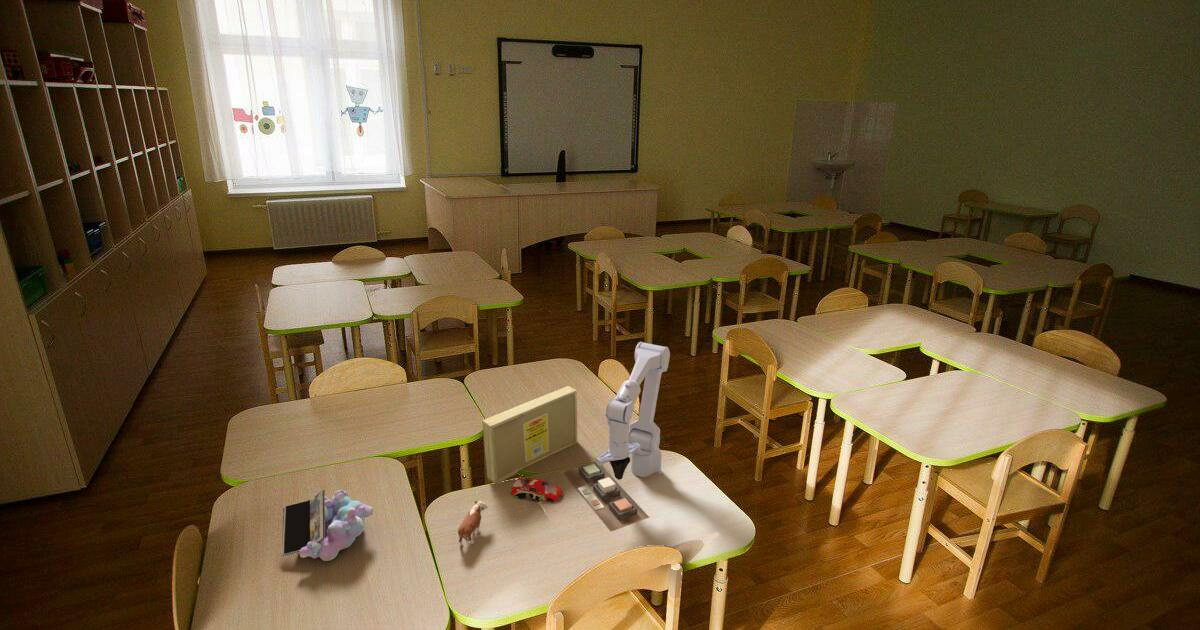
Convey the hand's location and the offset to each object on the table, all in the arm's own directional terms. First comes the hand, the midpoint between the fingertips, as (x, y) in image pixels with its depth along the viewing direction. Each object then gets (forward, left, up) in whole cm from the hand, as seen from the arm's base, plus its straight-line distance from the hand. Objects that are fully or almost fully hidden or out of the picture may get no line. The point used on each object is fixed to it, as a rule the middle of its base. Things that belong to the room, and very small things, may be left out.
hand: (618, 477), depth 189 cm
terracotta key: (+1, +5, -9) cm, 10 cm away
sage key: (+1, -15, -8) cm, 18 cm away
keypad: (+2, -5, -10) cm, 11 cm away
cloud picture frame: (+79, -22, -10) cm, 83 cm away
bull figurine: (+43, -7, -10) cm, 45 cm away
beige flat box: (+13, -33, -10) cm, 37 cm away
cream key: (+1, -5, -7) cm, 9 cm away
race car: (+20, -16, -10) cm, 27 cm away
